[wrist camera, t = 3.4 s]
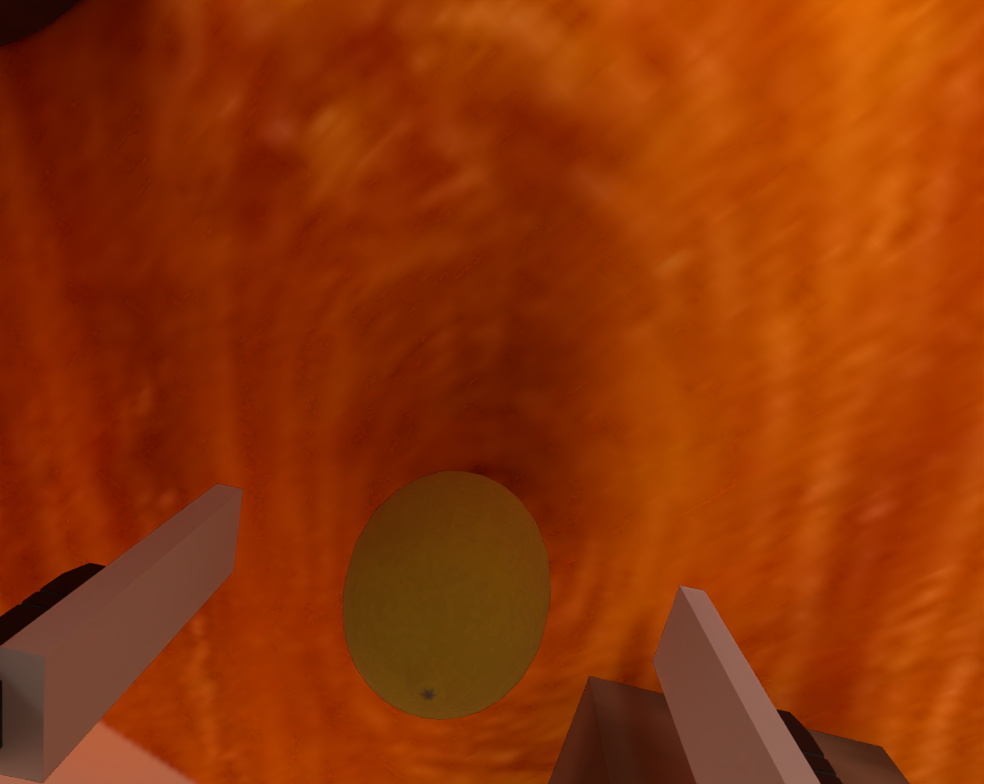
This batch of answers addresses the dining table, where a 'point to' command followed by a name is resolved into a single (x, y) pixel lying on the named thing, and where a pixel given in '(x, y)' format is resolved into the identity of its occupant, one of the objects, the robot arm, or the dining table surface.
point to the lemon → (446, 595)
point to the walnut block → (672, 744)
